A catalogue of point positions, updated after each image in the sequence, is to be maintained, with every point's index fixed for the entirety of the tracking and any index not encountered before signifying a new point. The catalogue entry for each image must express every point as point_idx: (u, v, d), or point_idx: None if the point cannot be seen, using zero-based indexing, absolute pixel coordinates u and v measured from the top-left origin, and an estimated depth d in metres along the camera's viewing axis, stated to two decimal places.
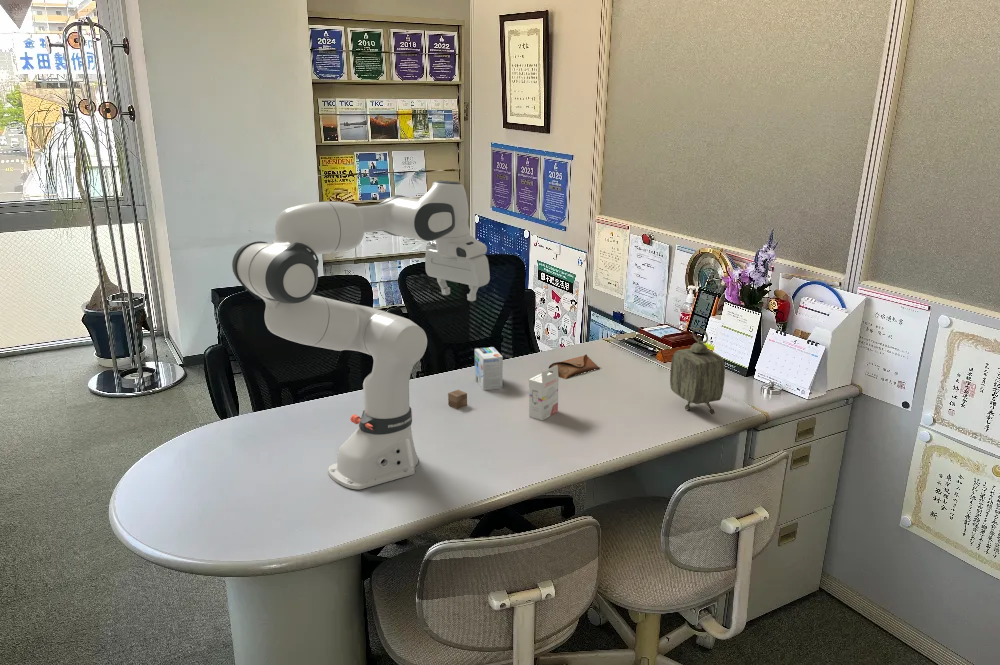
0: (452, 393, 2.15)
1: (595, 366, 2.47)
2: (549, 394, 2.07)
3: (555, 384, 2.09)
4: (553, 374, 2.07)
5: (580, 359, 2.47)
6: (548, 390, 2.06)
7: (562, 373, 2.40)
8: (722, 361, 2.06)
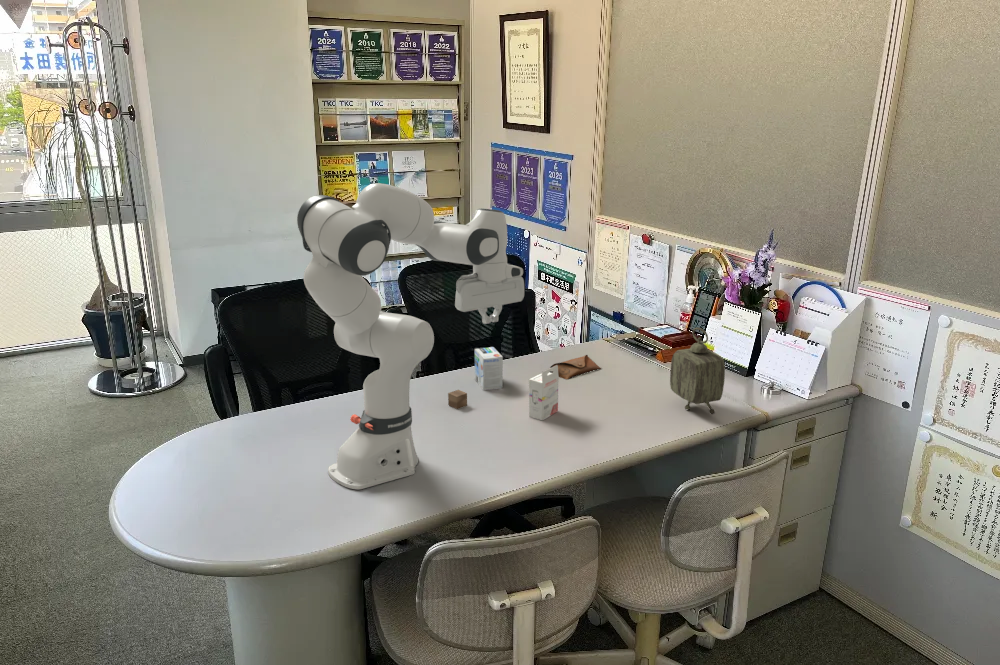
0: (452, 393, 2.15)
1: (596, 366, 2.47)
2: (549, 394, 2.07)
3: (555, 384, 2.09)
4: (553, 374, 2.07)
5: (580, 360, 2.47)
6: (548, 390, 2.06)
7: (563, 374, 2.39)
8: (722, 361, 2.06)
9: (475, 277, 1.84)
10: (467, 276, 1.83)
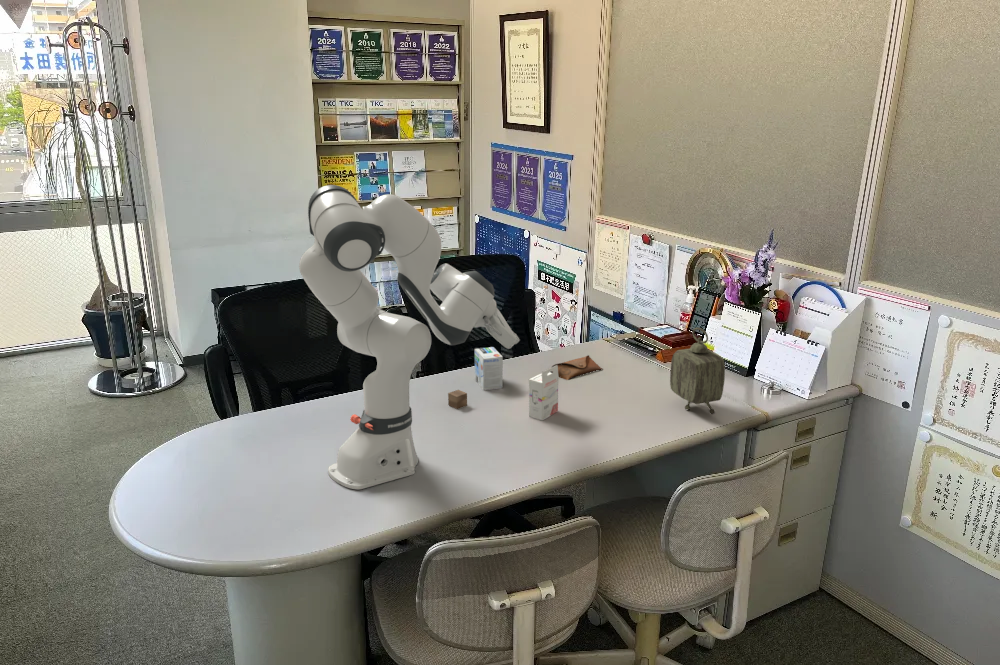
0: (452, 393, 2.15)
1: (597, 367, 2.46)
2: (549, 394, 2.07)
3: (555, 384, 2.09)
4: (553, 374, 2.07)
5: (582, 360, 2.46)
6: (548, 390, 2.06)
7: (564, 375, 2.39)
8: (722, 361, 2.06)
9: (488, 318, 1.83)
10: (488, 321, 1.81)
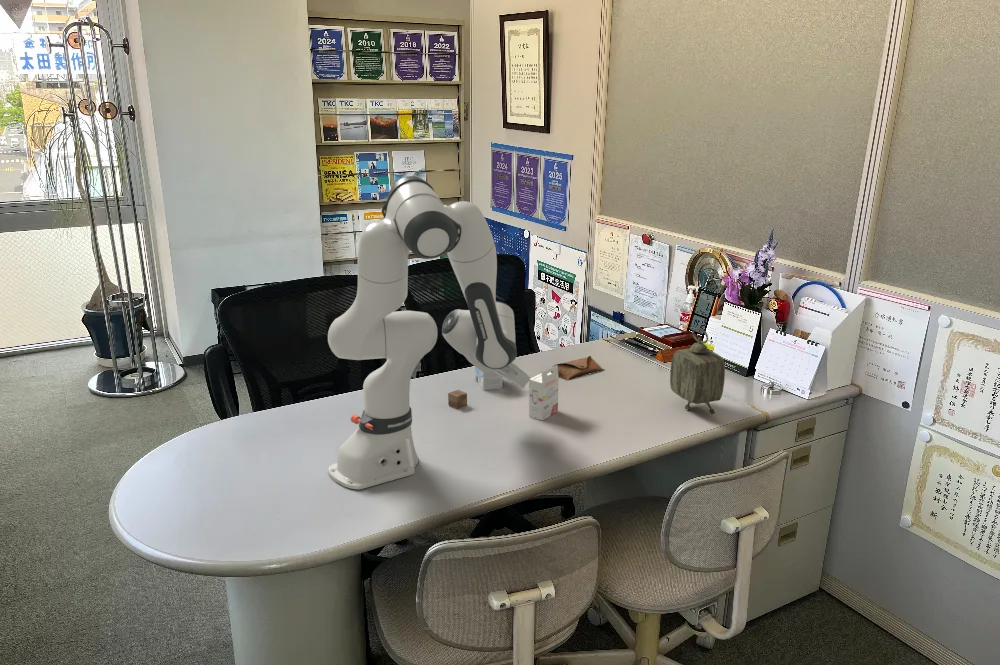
0: (452, 393, 2.15)
1: (598, 368, 2.45)
2: (549, 394, 2.07)
3: (555, 384, 2.09)
4: (553, 374, 2.07)
5: (583, 361, 2.46)
6: (548, 390, 2.06)
7: (564, 375, 2.39)
8: (722, 361, 2.06)
9: None
10: None
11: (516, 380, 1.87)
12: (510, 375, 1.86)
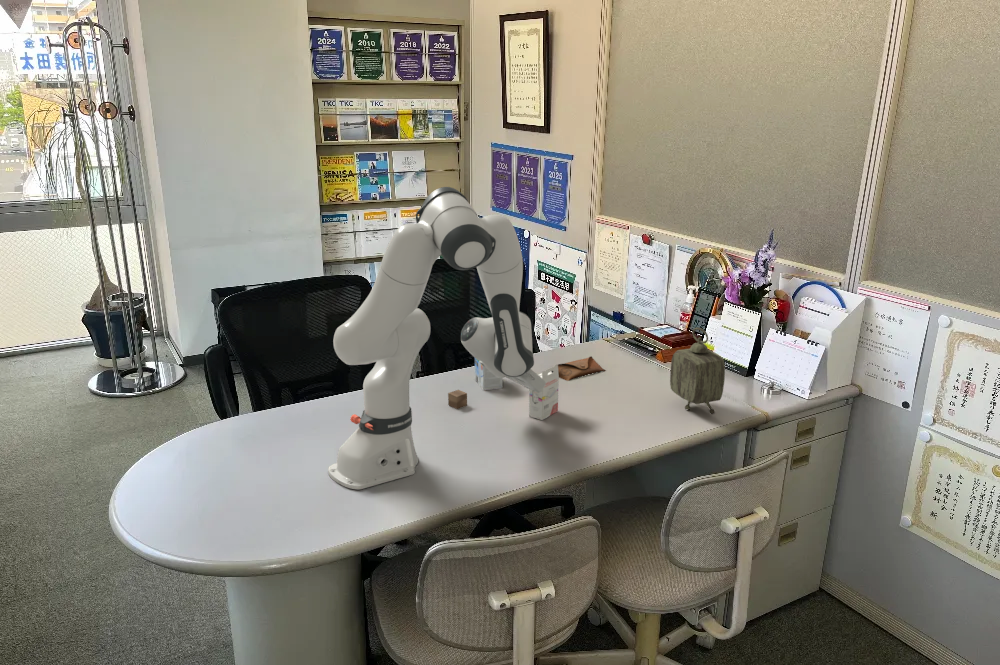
0: (452, 393, 2.15)
1: (599, 368, 2.45)
2: (549, 394, 2.07)
3: (556, 384, 2.09)
4: (553, 374, 2.07)
5: (584, 361, 2.45)
6: (548, 389, 2.06)
7: (565, 375, 2.38)
8: (722, 361, 2.06)
9: None
10: None
11: (533, 385, 1.92)
12: (527, 380, 1.91)
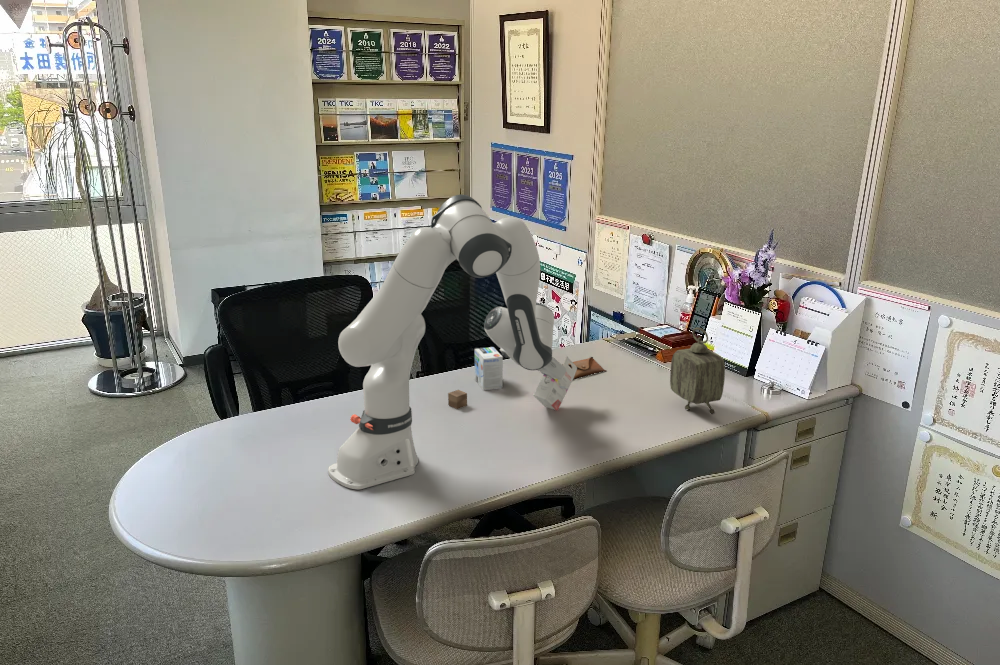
0: (452, 393, 2.15)
1: (600, 369, 2.45)
2: (561, 383, 2.11)
3: (568, 382, 2.14)
4: (571, 370, 2.14)
5: (585, 361, 2.45)
6: (562, 378, 2.11)
7: None
8: (722, 361, 2.06)
9: None
10: None
11: (554, 372, 1.97)
12: (549, 367, 1.96)
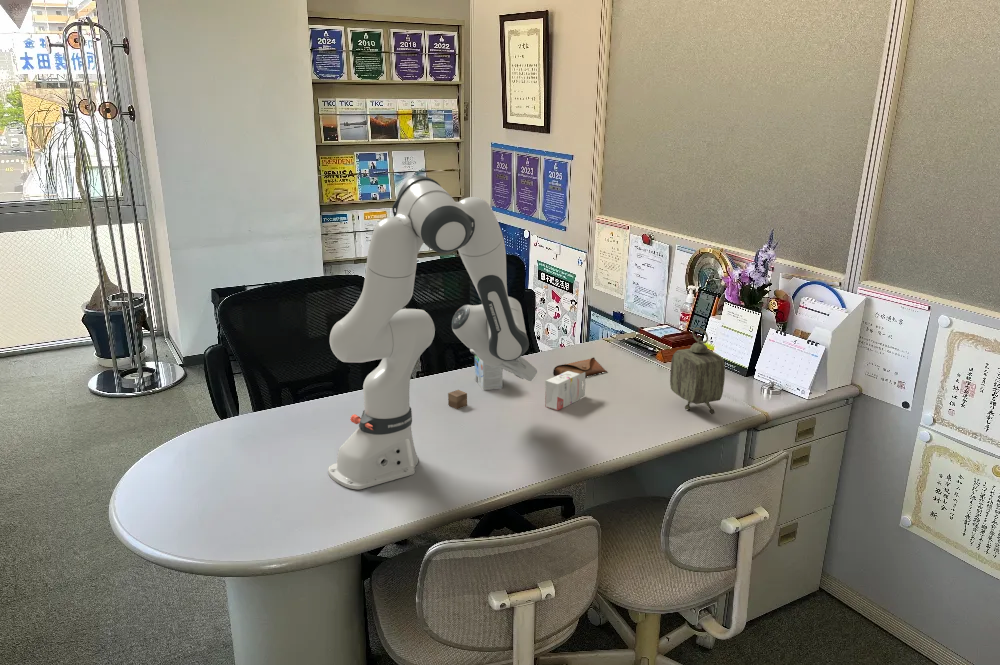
0: (452, 393, 2.15)
1: (601, 369, 2.44)
2: (571, 388, 2.17)
3: (575, 397, 2.19)
4: (581, 390, 2.21)
5: (586, 362, 2.44)
6: (575, 385, 2.18)
7: None
8: (722, 361, 2.06)
9: None
10: None
11: (525, 373, 1.91)
12: (519, 368, 1.90)
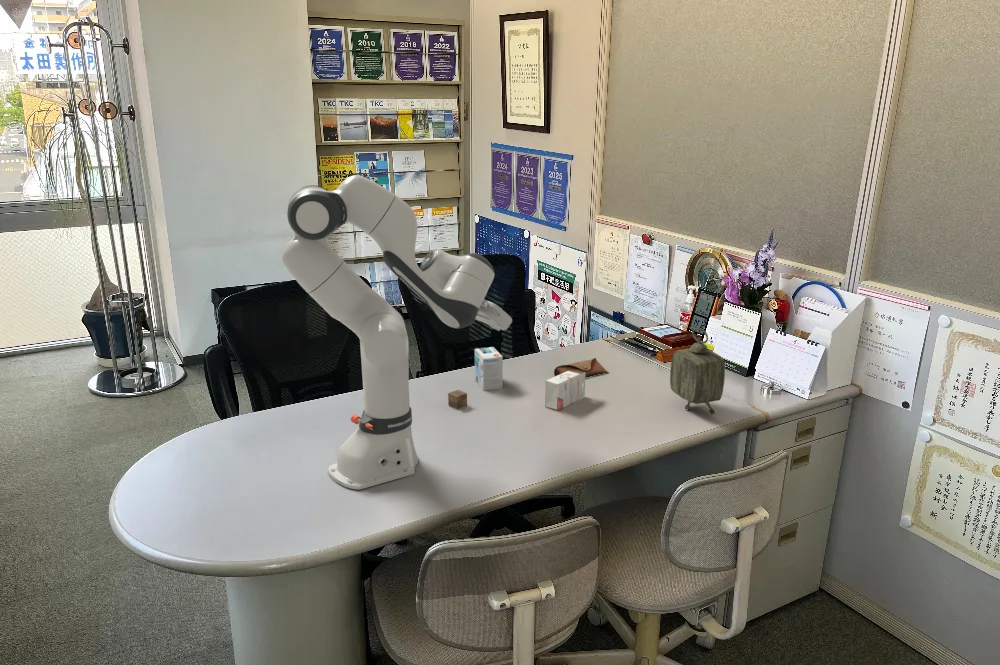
0: (452, 393, 2.15)
1: (603, 370, 2.43)
2: (571, 388, 2.17)
3: (575, 397, 2.19)
4: (581, 390, 2.21)
5: (587, 363, 2.44)
6: (575, 385, 2.18)
7: None
8: (722, 361, 2.06)
9: None
10: (485, 302, 1.79)
11: (498, 321, 1.80)
12: (492, 316, 1.79)
